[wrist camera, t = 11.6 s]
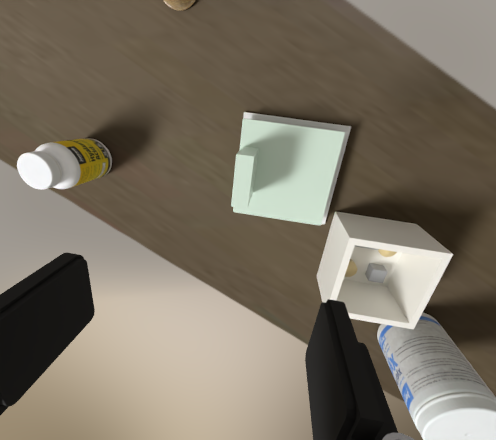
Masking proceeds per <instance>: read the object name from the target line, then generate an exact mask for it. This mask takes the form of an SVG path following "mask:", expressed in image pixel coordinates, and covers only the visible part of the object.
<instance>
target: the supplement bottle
mask: <svg viewBox="0 0 496 440" xmlns="http://www.w3.org/2000/svg"><path fill="white" fill-rule="evenodd" d="M111 166H112V157H111V154H110V152H109V150H108V149H107V148H106V146H105V145H104V144H102V143H101V142H100V141H98V140H95V139H91V138H85V139H76V140H67V141H59V142H51V143H45V144H42V145H40V146H39V147H38V148H37V149H36V150H35V151H33V152H28V153H24V154H22V155H21V156H20V157H19V159H18V162H17V168H18V172H19V174H20V175H21V177H22V179H23V180H24V181H25V182H26V183H27V184H28V185H30V186H31V187H33V188H36V189H47V188H51V187H54V188H58V189H67V188H71V187H74V186H76V185H79V184H82V183H85V182H88V181H91V180H94V179H96V178H99V177H102V176H104V175H106V174H107V173H108V172H109V171H110V169H111Z"/></svg>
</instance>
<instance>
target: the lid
mask: <svg viewBox="0 0 496 440" xmlns="http://www.w3.org/2000/svg"><path fill="white" fill-rule="evenodd" d="M344 135H345V132H342V131H335V130H327V129H320V128H313V127H305V126H298V125H290V124H283V123H276V122H268V121H261V120H253V119H246V118H243V123H242V132H241V142H240V151H239V152H238V153H237V154H236V163H235V173H234V183H233V193H232V203H231V206H232V207H234V208H233V212H237V213H244V214H250V215H256V216H263V217H269V218H275V219H282V220H288V221H295V222H301V223H307V224H314V225H320V226H321V223H322V219H323V215H324V211H325V208H326V204H327V200H328V196H329V192H330V189H331V185H332V181H333V177H334V173H335V170H336V166H337V162H338V158H339V154H340V151H341V147H342V143H343V139H344Z"/></svg>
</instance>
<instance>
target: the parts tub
mask: <svg viewBox="0 0 496 440" xmlns="http://www.w3.org/2000/svg"><path fill="white" fill-rule="evenodd" d="M452 256H453V254H452V253H451V252H450V251H449V250H448V249H446V248H445V247H444V246H443V245H441V244H440V243H439V242H438V241H437V240H435V239H434V238H433V237H432V236H431V235H429V234H428V233H427V232H426V231H424V230H423V229H422V228H421V227H420V226H418V225H417V224H414V223H407V222H401V221H394V220H388V219H381V218H375V217H368V216H362V215H355V214H349V213H343V212H336V211H335V213H334V217H333V220H332V224H331V227H330V231H329V235H328V238H327V242H326V245H325V249H324V252H323V256H322V259H321V263H320V266H319V270H318V273H317V280H318V285H319V289H320V293H321V298H322V302H325V303H326V302H327V300H328V299H330V300H336V301H341V302H344V303H345V305H346V308H347V311H348V314H349V317H350V318H352V319H357V320H363V321H369V322H374V323H380V324H385V325H391V326H397V327H402V328H408V329H414V328H415V326H416V324H417V322H418V320H419V318H420V316H421V315H422V313H423V311H424V309H425V307H426V305H427V303H428V301H429V299H430V297H431V296H432V294H433V292H434V290H435V288H436V286H437V284H438V282H439V280H440V278H441V277H442V275H443V273H444V271H445V269H446V267H447V265H448V263H449V261H450V259H451V258H452Z"/></svg>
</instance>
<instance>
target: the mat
mask: <svg viewBox="0 0 496 440" xmlns="http://www.w3.org/2000/svg"><path fill="white" fill-rule="evenodd" d="M244 118H246V119H253V120H261V121H268V122H276V123H283V124H290V125H298V126H305V127H313V128H320V129H327V130H335V131H342V132H345V135H344V139H343V143H342V147H341V151H340V154H339V158H338V162H337V166H336V170H335V173H334V177H333V181H332V185H331V189H330V192H329V196H328V200H327V204H326V208H325V211H324V215H323V219H322V223H321V224H325V222H326V218H327V214H328V211H329V207H330V203H331V199H332V196H333V192H334V188H335V185H336V181H337V177H338V174H339V170H340V166H341V163H342V159H343V155H344V152H345V148H346V144H347V140H348V137H349V133H350V129H351V126H344V125H337V124H329V123H322V122H315V121H307V120H300V119H292V118H285V117H278V116H270V115H263V114H256V113H248V112H244Z"/></svg>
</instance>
